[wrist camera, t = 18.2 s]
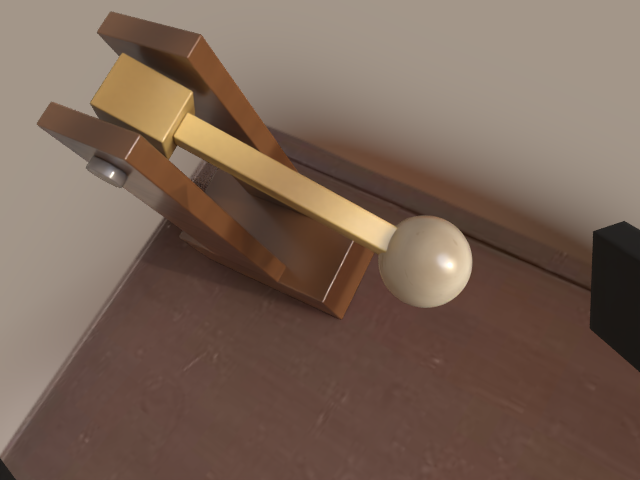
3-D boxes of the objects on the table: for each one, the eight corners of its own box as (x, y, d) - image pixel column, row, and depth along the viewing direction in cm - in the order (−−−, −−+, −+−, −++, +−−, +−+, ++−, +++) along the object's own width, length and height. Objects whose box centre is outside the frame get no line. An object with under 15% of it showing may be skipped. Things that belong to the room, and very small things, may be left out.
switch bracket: (382, 237, 34) (277, 38, 18) (338, 328, 32) (182, 201, 17) (249, 186, 38) (66, -13, 22) (205, 265, 36) (-22, 115, 21)
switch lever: (462, 248, 24) (504, 237, 21) (428, 323, 24) (465, 324, 20) (142, 71, 23) (129, 26, 19) (95, 145, 22) (73, 113, 18)
